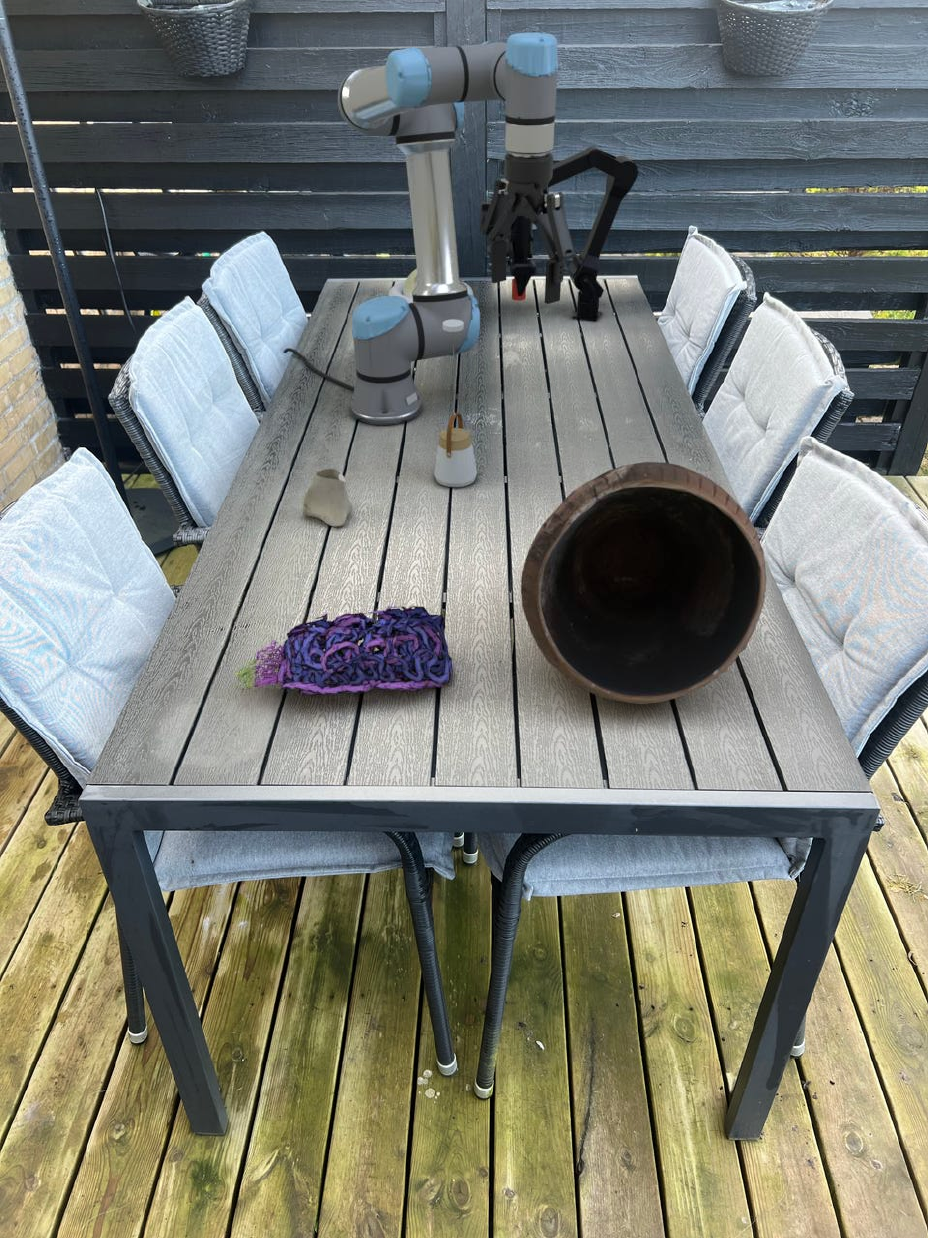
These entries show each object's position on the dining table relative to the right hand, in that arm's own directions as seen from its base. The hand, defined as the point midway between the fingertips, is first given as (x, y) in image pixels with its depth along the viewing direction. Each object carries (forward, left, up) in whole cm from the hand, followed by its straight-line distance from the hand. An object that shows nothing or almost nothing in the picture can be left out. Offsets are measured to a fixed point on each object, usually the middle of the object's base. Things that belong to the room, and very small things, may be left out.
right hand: (519, 293), depth 242 cm
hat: (+12, -20, -7) cm, 24 cm away
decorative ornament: (+147, +25, -7) cm, 149 cm away
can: (0, 0, -1) cm, 1 cm away
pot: (+124, +60, -7) cm, 138 cm away
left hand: (+82, +28, +29) cm, 92 cm away
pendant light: (+86, +17, -7) cm, 88 cm away
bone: (+108, +1, -7) cm, 108 cm away
